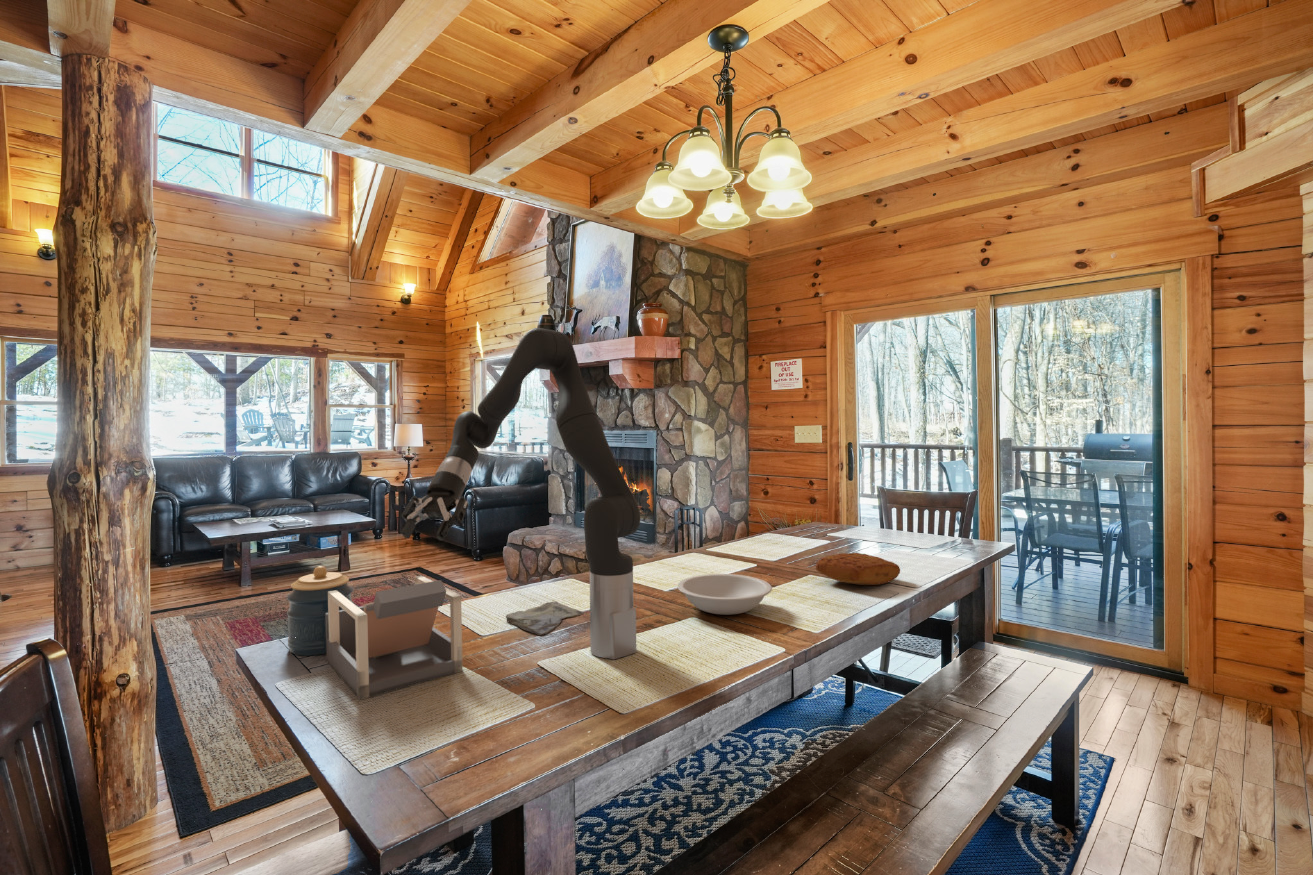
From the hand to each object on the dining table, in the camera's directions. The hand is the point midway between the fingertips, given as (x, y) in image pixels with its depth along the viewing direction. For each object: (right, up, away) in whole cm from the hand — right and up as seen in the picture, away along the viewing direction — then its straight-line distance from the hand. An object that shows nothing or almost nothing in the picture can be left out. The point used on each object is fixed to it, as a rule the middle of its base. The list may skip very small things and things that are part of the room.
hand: (422, 537), depth 138 cm
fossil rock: (+24, -24, +17) cm, 38 cm away
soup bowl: (+69, -23, +23) cm, 76 cm away
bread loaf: (+112, -22, +48) cm, 123 cm away
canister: (-22, -24, 0) cm, 33 cm away
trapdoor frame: (-1, -24, -12) cm, 27 cm away
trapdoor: (+4, -15, -18) cm, 24 cm away
